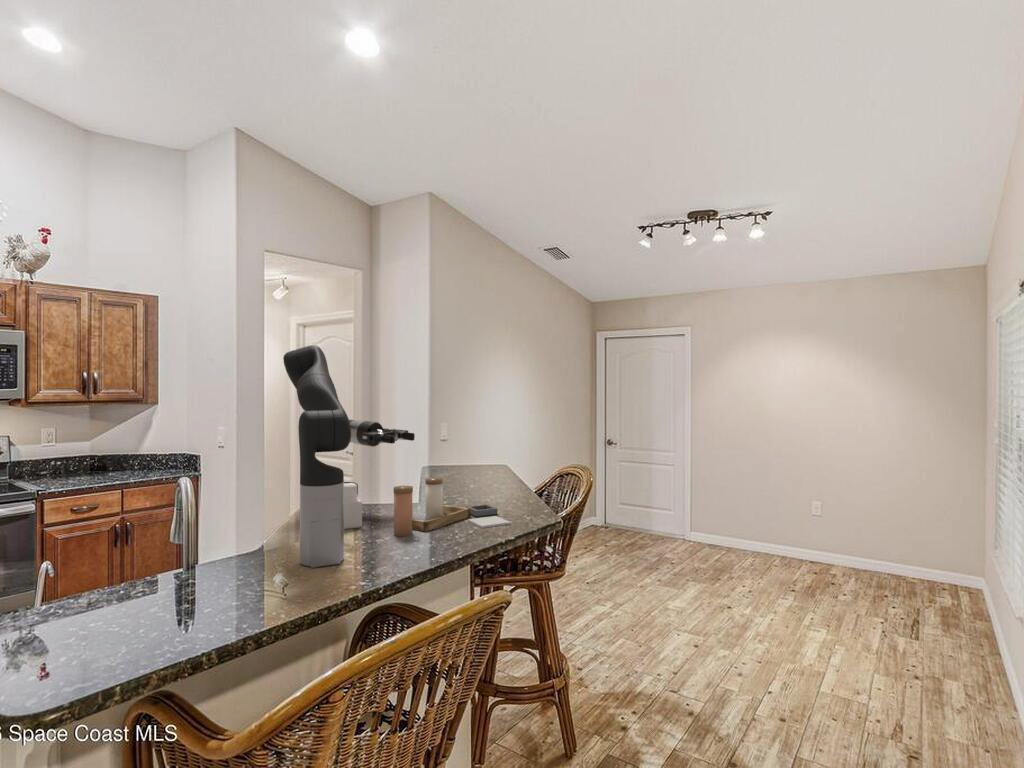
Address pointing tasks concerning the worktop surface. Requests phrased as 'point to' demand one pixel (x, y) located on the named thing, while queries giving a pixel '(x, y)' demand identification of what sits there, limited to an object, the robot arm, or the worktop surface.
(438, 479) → the spice jar
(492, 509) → the hole dish
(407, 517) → the terracotta jar
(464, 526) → the worktop surface
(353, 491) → the medicine bottle
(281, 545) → the worktop surface
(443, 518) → the wooden tray
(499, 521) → the white square tile
